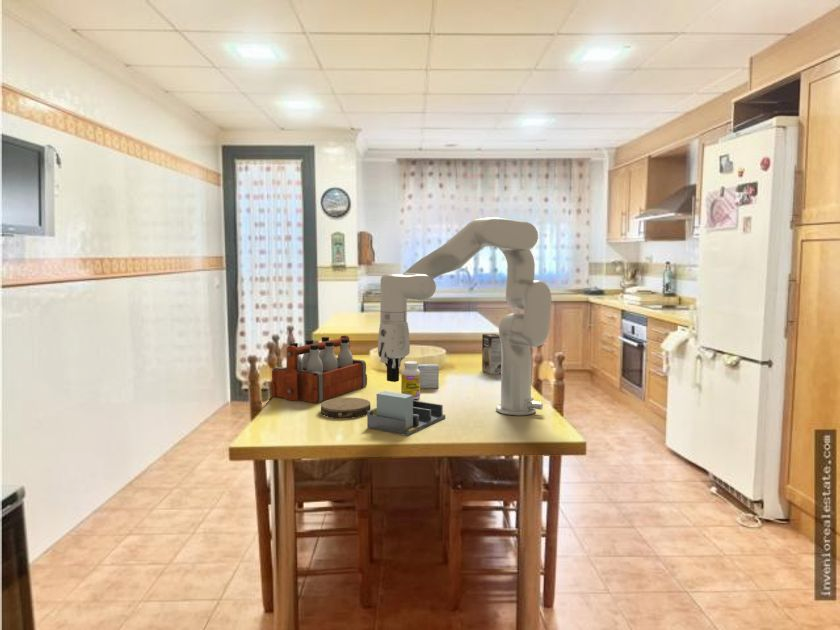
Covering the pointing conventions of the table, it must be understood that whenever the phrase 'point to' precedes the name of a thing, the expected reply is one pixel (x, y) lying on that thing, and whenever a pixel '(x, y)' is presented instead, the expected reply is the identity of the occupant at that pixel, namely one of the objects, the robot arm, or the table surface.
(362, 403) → the round wood slice
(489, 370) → the coffee box
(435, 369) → the medicine box
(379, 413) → the panel
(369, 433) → the table surface
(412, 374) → the supplement bottle
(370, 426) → the rack
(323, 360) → the milk bottle holder
